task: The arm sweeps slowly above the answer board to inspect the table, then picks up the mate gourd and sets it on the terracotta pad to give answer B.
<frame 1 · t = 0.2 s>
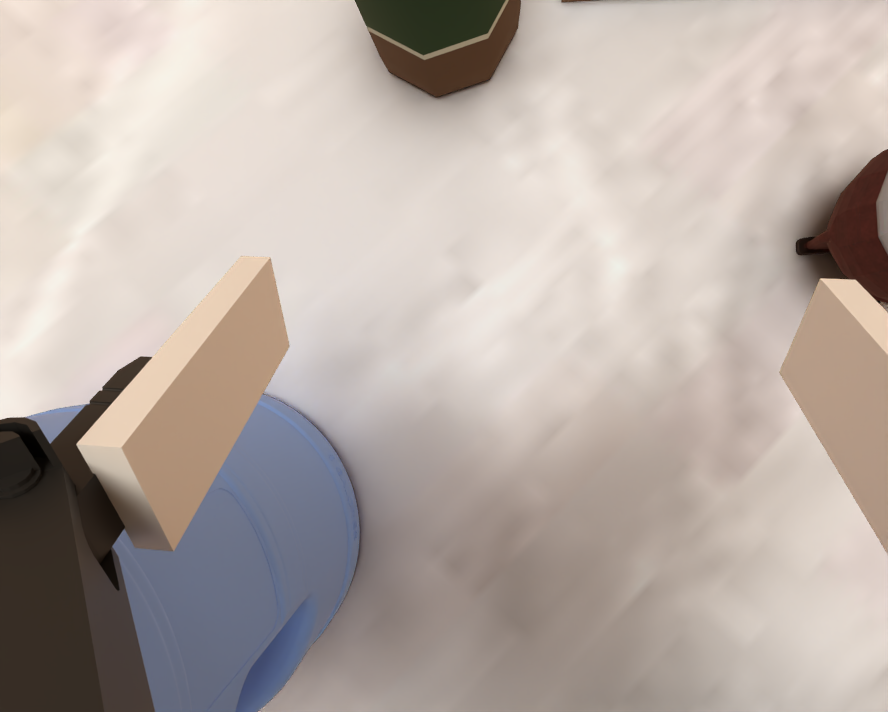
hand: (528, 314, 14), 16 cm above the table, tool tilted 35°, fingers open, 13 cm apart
mate gourd: (864, 233, 28), on the table
water jug: (231, 521, 32), on the table
beer bottle: (446, 30, 30), on the table
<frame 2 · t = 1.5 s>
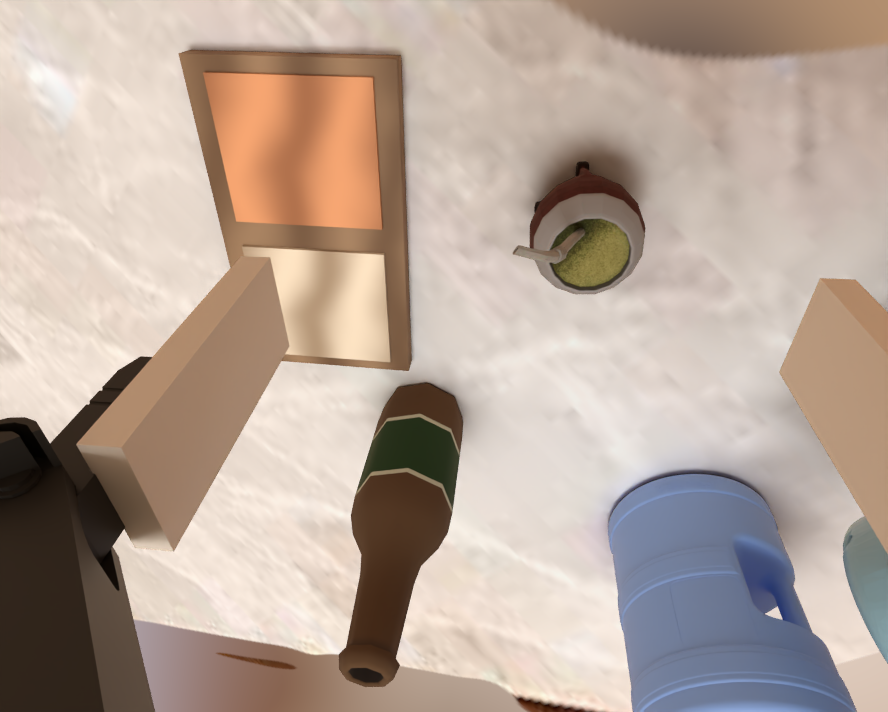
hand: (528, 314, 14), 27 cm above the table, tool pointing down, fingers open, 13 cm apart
mate gourd: (573, 201, 40), on the table
water jug: (685, 519, 58), on the table
beer bottle: (424, 410, 53), on the table
answer board: (317, 228, 43), on the table
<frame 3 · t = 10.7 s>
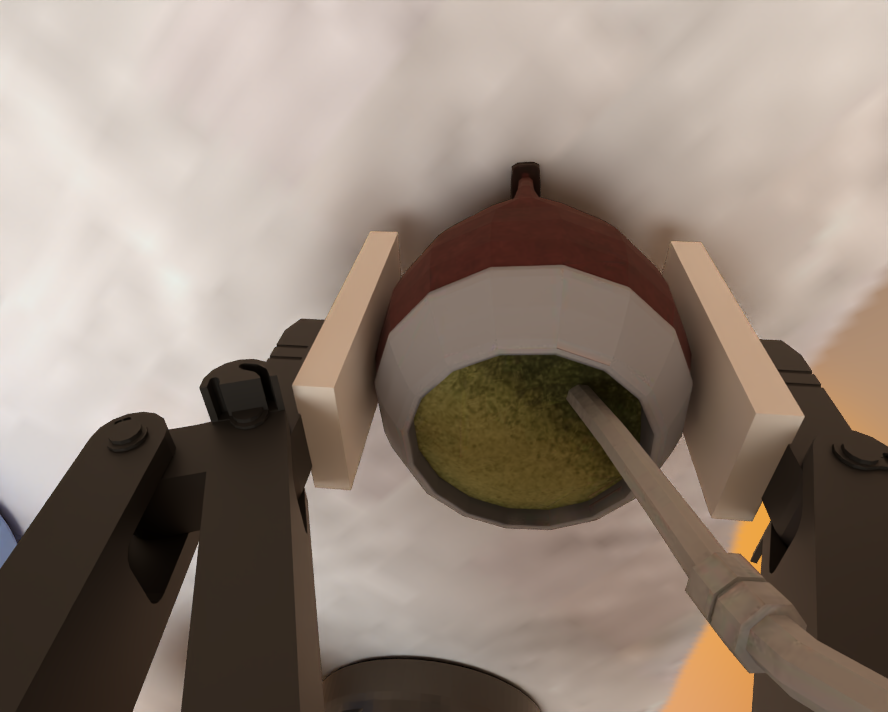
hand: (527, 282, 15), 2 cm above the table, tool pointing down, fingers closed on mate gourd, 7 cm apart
mate gourd: (533, 247, 17), on the table, touching gripper
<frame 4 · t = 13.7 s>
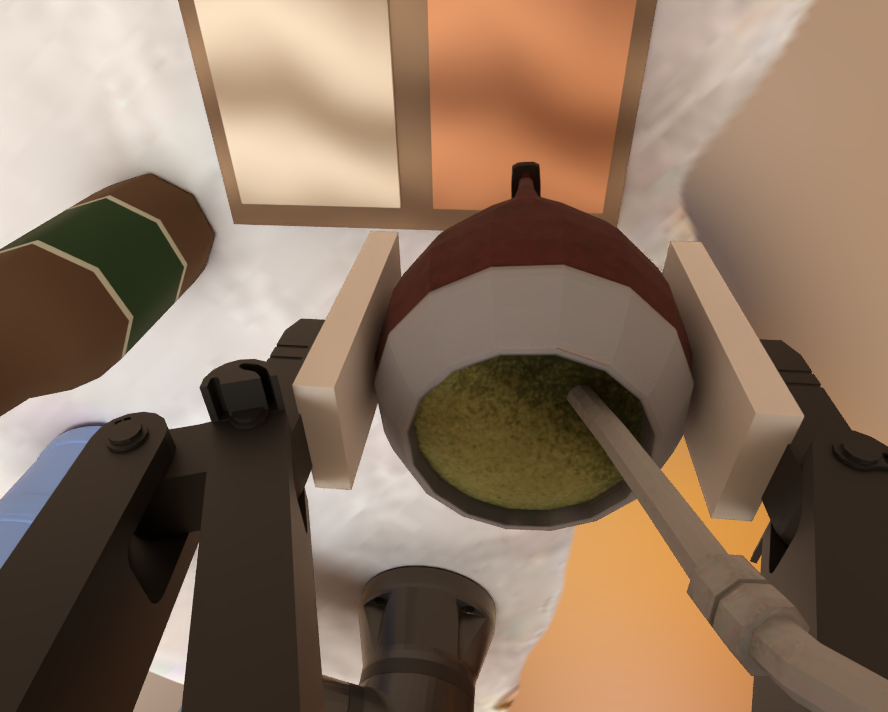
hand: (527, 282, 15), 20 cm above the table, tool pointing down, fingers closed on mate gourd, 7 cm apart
mate gourd: (533, 246, 17), point 18 cm above the table, touching gripper
water jug: (134, 477, 56), on the table
beer bottle: (164, 225, 39), on the table
answer board: (417, 103, 32), on the table
when the fingers open (5 cm above the table, at t = 17.2 s): mate gourd drops 2 cm, resting on answer board.
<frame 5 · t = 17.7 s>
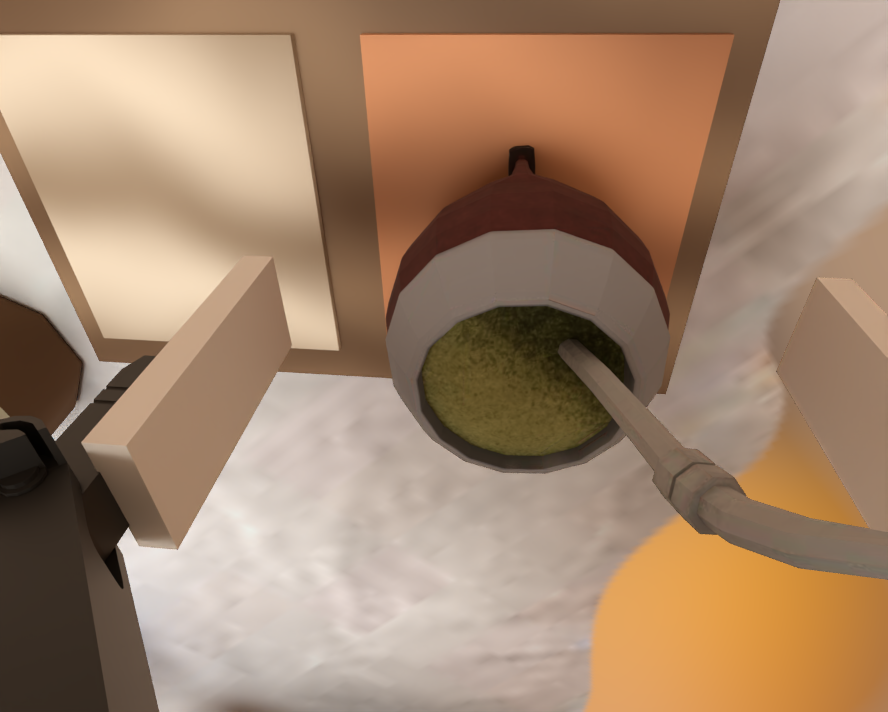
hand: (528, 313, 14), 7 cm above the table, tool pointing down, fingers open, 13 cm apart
mate gourd: (528, 225, 19), point 2 cm above the table, touching answer board
beer bottle: (12, 349, 27), on the table
answer board: (359, 200, 20), on the table
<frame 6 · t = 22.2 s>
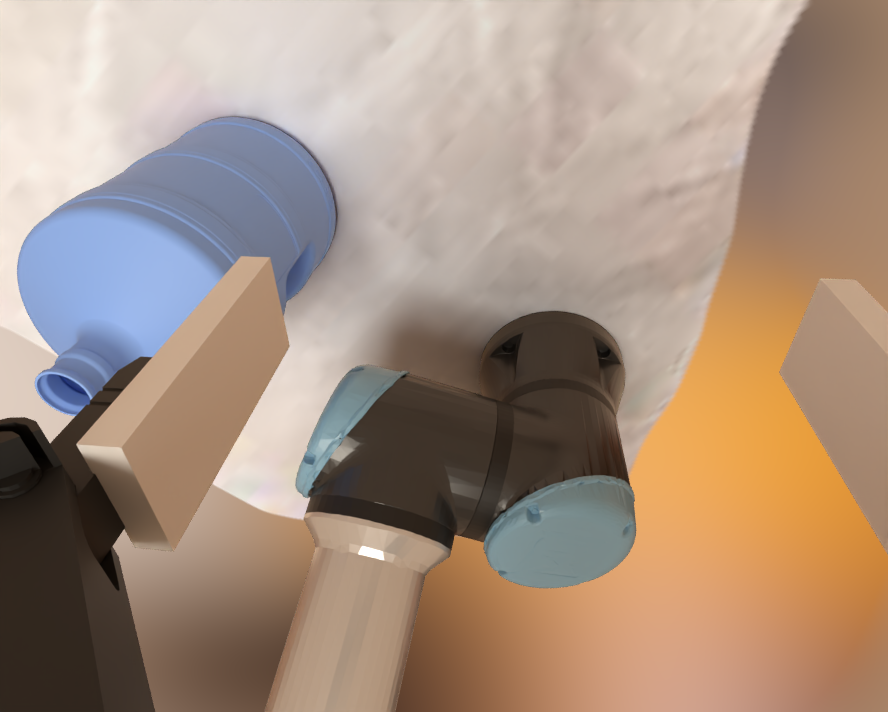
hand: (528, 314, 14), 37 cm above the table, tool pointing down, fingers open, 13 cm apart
water jug: (257, 201, 53), on the table
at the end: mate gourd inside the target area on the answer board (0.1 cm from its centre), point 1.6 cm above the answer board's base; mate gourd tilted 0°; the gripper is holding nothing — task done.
